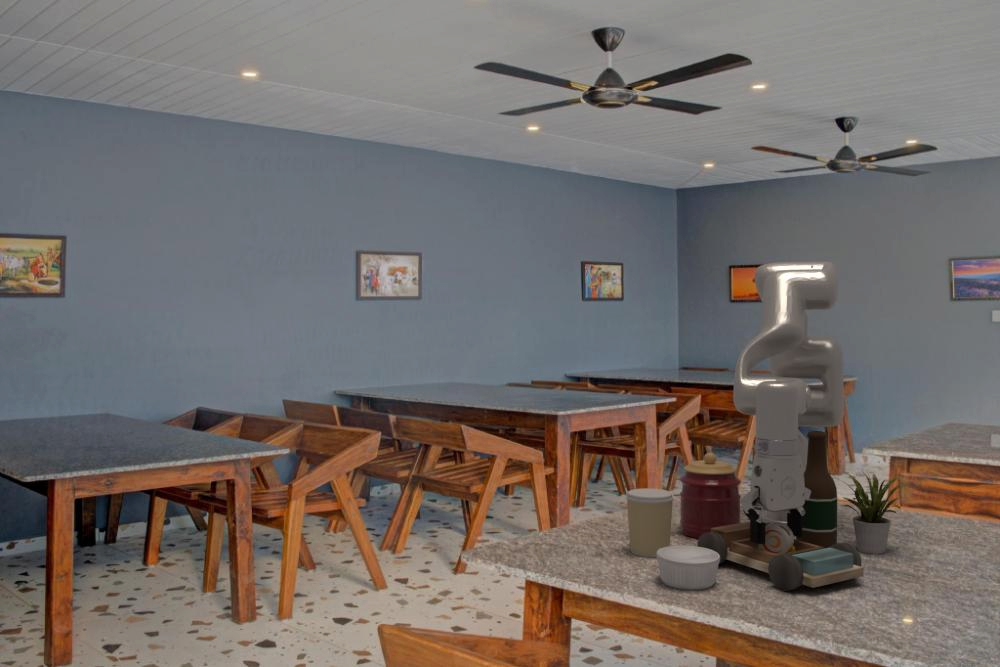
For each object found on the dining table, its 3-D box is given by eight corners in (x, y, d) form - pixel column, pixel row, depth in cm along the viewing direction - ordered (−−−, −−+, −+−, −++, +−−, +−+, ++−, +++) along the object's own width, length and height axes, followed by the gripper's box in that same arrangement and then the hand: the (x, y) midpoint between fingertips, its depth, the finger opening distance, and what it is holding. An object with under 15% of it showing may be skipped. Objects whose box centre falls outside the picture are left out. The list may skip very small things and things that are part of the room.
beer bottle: (836, 546, 181) (836, 429, 181) (837, 556, 174) (838, 434, 173) (796, 543, 184) (796, 428, 183) (796, 553, 176) (796, 433, 176)
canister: (719, 524, 201) (719, 447, 200) (753, 538, 188) (753, 455, 188) (668, 529, 197) (668, 450, 196) (699, 543, 184) (699, 459, 184)
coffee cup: (678, 548, 180) (678, 490, 180) (666, 560, 171) (666, 499, 171) (633, 544, 184) (633, 486, 184) (620, 555, 175) (620, 495, 175)
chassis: (690, 558, 172) (690, 528, 172) (753, 547, 181) (753, 517, 181) (804, 598, 148) (804, 562, 148) (871, 582, 157) (871, 549, 157)
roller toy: (763, 549, 168) (763, 518, 168) (797, 553, 165) (797, 522, 165) (756, 554, 164) (756, 523, 164) (791, 559, 161) (791, 527, 161)
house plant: (927, 550, 178) (928, 469, 178) (903, 564, 168) (904, 479, 167) (856, 538, 188) (856, 461, 187) (829, 551, 178) (830, 470, 177)
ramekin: (708, 596, 150) (708, 565, 150) (646, 586, 156) (646, 556, 156) (728, 579, 159) (728, 550, 159) (669, 570, 165) (669, 542, 165)
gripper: (758, 454, 157) (758, 550, 157) (824, 446, 165) (824, 537, 166) (727, 448, 163) (727, 541, 163) (793, 441, 172) (793, 529, 172)
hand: (776, 539), depth 165 cm, fingers open, 9 cm apart
